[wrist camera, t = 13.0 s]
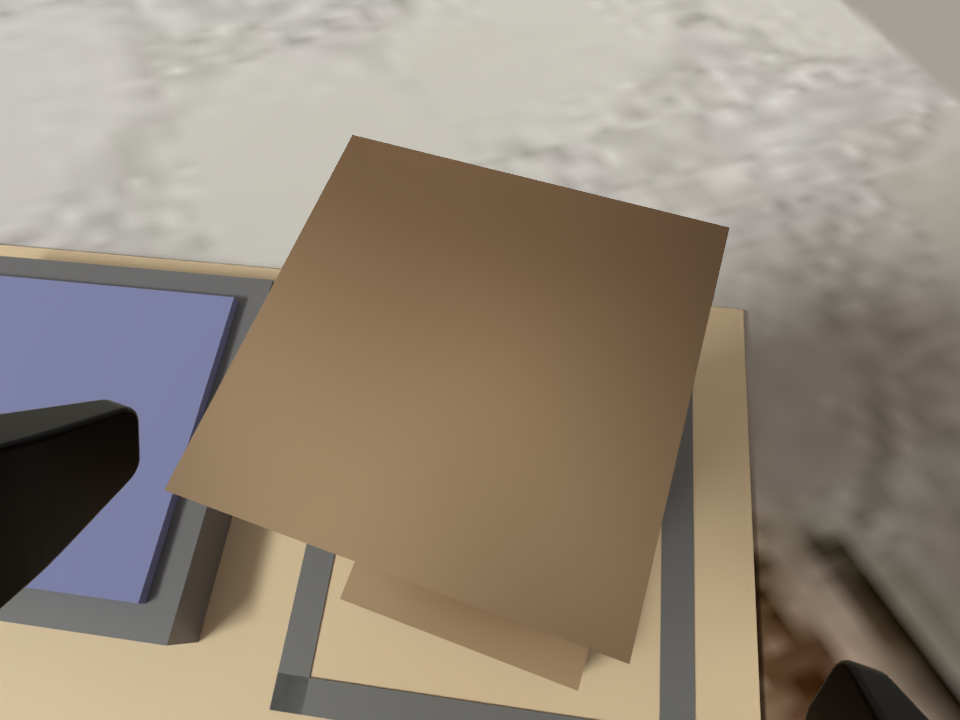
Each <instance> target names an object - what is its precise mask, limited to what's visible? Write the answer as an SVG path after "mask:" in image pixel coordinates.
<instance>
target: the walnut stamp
mask: <svg viewBox="0 0 960 720" xmlns="http://www.w3.org/2000/svg"><path fill="white" fill-rule="evenodd" d="M728 231H729V228H728V227H724V226H720V225H716V224H712V223H708V222H704V221H700V220H696V219H692V218H688V217H684V216H680V215H676V214H671V213H667V212H663V211H659V210H655V209H651V208H647V207H643V206H639V205H635V204H631V203H627V202H623V201H619V200H615V199H610V198H606V197H602V196H598V195H594V194H590V193H586V192H582V191H578V190H574V189H570V188H566V187H562V186H558V185H554V184H550V183H545V182H541V181H537V180H533V179H529V178H525V177H521V176H517V175H513V174H509V173H505V172H501V171H497V170H493V169H489V168H484V167H480V166H476V165H472V164H468V163H464V162H460V161H456V160H452V159H448V158H444V157H440V156H436V155H432V154H428V153H423V152H419V151H415V150H411V149H407V148H403V147H399V146H395V145H391V144H387V143H383V142H379V141H375V140H371V139H367V138H363V137H358V136H354V135H352V137H351V139H350V141H349V143H348V145H347V147H346V149H345V150H344V152H343V154H342V156H341V158H340V160H339V162H338V164H337V165H336V167H335V169H334V171H333V173H332V175H331V177H330V179H329V181H328V182H327V184H326V186H325V188H324V190H323V192H322V194H321V196H320V197H319V199H318V201H317V203H316V205H315V207H314V209H313V211H312V213H311V214H310V216H309V218H308V220H307V222H306V224H305V226H304V228H303V229H302V231H301V233H300V235H299V237H298V239H297V241H296V243H295V245H294V246H293V248H292V250H291V252H290V254H289V256H288V258H287V260H286V261H285V263H284V265H283V267H282V269H281V271H280V273H279V275H278V277H277V278H276V280H275V282H274V284H273V286H272V288H271V290H270V292H269V293H268V295H267V297H266V299H265V301H264V303H263V305H262V307H261V309H260V310H259V312H258V314H257V316H256V318H255V320H254V322H253V324H252V325H251V327H250V329H249V331H248V333H247V335H246V337H245V339H244V341H243V342H242V344H241V346H240V348H239V350H238V352H237V354H236V356H235V357H234V359H233V361H232V363H231V365H230V367H229V369H228V371H227V373H226V374H225V376H224V378H223V380H222V382H221V384H220V386H219V388H218V389H217V391H216V393H215V395H214V397H213V399H212V401H211V403H210V405H209V406H208V408H207V410H206V412H205V414H204V416H203V418H202V420H201V421H200V423H199V425H198V427H197V429H196V431H195V433H194V435H193V437H192V438H191V440H190V442H189V444H188V446H187V448H186V450H185V452H184V453H183V455H182V457H181V459H180V461H179V463H178V465H177V467H176V469H175V470H174V472H173V474H172V476H171V478H170V480H169V482H168V484H167V485H166V487H165V489H164V490H165V491H168V492H170V493H173V494H176V495H178V496H181V497H184V498H186V499H189V500H192V501H194V502H197V503H200V504H202V505H205V506H208V507H210V508H213V509H216V510H218V511H221V512H224V513H226V514H229V515H232V516H234V517H237V518H240V519H243V520H245V521H248V522H251V523H253V524H256V525H259V526H261V527H264V528H267V529H269V530H272V531H275V532H277V533H280V534H283V535H285V536H288V537H291V538H293V539H296V540H299V541H301V542H304V543H307V544H309V545H312V546H315V547H317V548H320V549H323V550H325V551H328V552H331V553H333V554H336V555H339V556H341V557H344V558H347V559H349V560H352V561H355V562H354V565H353V567H352V570H351V572H350V575H349V577H348V580H347V582H346V585H345V587H344V590H343V592H342V595H341V597H340V599H342V600H344V601H347V602H349V603H352V604H355V605H357V606H360V607H362V608H365V609H367V610H370V611H373V612H375V613H378V614H380V615H383V616H386V617H388V618H391V619H393V620H396V621H398V622H401V623H404V624H406V625H409V626H411V627H414V628H417V629H419V630H422V631H424V632H427V633H429V634H432V635H435V636H437V637H440V638H442V639H445V640H448V641H450V642H453V643H455V644H458V645H460V646H463V647H466V648H468V649H471V650H473V651H476V652H479V653H481V654H484V655H486V656H489V657H491V658H494V659H497V660H499V661H502V662H504V663H507V664H509V665H512V666H515V667H517V668H520V669H522V670H525V671H528V672H530V673H533V674H535V675H538V676H540V677H543V678H546V679H548V680H551V681H553V682H556V683H559V684H561V685H564V686H566V687H569V688H571V689H574V690H577V691H578V689H579V685H580V681H581V677H582V673H583V669H584V666H585V662H586V658H587V654H588V650H589V649H590V650H593V651H595V652H598V653H601V654H603V655H606V656H609V657H611V658H614V659H617V660H619V661H622V662H625V663H627V664H630V660H631V656H632V651H633V647H634V643H635V638H636V634H637V629H638V625H639V621H640V616H641V612H642V608H643V603H644V599H645V594H646V590H647V586H648V581H649V577H650V573H651V568H652V564H653V559H654V555H655V551H656V546H657V542H658V537H659V533H660V529H661V524H662V520H663V516H664V511H665V507H666V502H667V498H668V494H669V489H670V485H671V481H672V476H673V472H674V467H675V463H676V459H677V454H678V450H679V446H680V441H681V437H682V432H683V428H684V424H685V419H686V415H687V410H688V406H689V402H690V397H691V393H692V389H693V384H694V380H695V375H696V371H697V367H698V362H699V358H700V354H701V349H702V345H703V340H704V336H705V332H706V327H707V323H708V319H709V314H710V310H711V305H712V301H713V297H714V292H715V288H716V283H717V279H718V275H719V270H720V266H721V262H722V257H723V253H724V248H725V244H726V240H727V235H728Z"/></svg>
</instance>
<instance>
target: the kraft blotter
mask: <svg viewBox="0 0 960 720" xmlns="http://www.w3.org/2000/svg"><path fill="white" fill-rule="evenodd" d="M0 256H8V257H19V258H30V259H42V260H53V261H64V262H75V263H87V264H98V265H109V266H120V267H132V268H143V269H154V270H165V271H177V272H188V273H199V274H210V275H222V276H233V277H244V278H255V279H267V280H273V281H274V282H275V280H276V278H277V277H278V275H279V273H280V271H281V269H272V268H261V267H249V266H238V265H226V264H215V263H203V262H192V261H180V260H169V259H157V258H146V257H134V256H123V255H111V254H100V253H88V252H77V251H66V250H54V249H43V248H31V247H20V246H8V245H0ZM354 562H355V561H352V560H349V559H347V558H344V557H341V556H339V555H336V554H333V553H331V552H328V551H325V550H323V549H320V548H317V547H315V546H312V545H309V544H307V543H304V542H301V541H299V540H296V539H293V538H291V537H288V536H285V535H283V534H280V533H277V532H275V531H272V530H269V529H267V528H264V527H261V526H259V525H256V524H253V523H251V522H248V521H245V520H243V519H240V518H237V517H234V516H232V520H231V524H230V527H229V531H228V535H227V538H226V542H225V546H224V549H223V553H222V557H221V560H220V564H219V568H218V571H217V575H216V579H215V582H214V586H213V590H212V593H211V597H210V601H209V604H208V608H207V612H206V615H205V619H204V623H203V626H202V630H201V634H200V637H199V641H198V642H196V643H187V644H178V645H169V646H165V645H159V644H152V643H145V642H138V641H132V640H125V639H118V638H111V637H105V636H98V635H91V634H85V633H78V632H71V631H64V630H58V629H51V628H44V627H37V626H31V625H24V624H17V623H10V622H4V621H0V720H761V716H760V693H759V669H758V646H757V622H756V599H755V576H754V552H753V529H752V505H751V482H750V458H749V435H748V411H747V388H746V365H745V341H744V318H743V310H742V309H731V308H719V307H711V310H710V314H709V319H708V323H707V327H706V332H705V336H704V340H703V345H702V349H701V354H700V358H699V362H698V367H697V371H696V375H695V380H694V384H693V389H692V393H691V397H690V402H689V406H688V410H687V415H686V419H685V424H684V428H683V432H682V437H681V441H680V446H679V450H678V454H677V459H676V463H675V467H674V472H673V476H672V481H671V485H670V489H669V494H668V498H667V502H666V507H665V511H664V516H663V520H662V524H661V529H660V533H659V537H658V542H657V546H656V551H655V555H654V559H653V564H652V568H651V573H650V577H649V581H648V586H647V590H646V594H645V599H644V603H643V608H642V612H641V616H640V621H639V625H638V629H637V634H636V638H635V643H634V647H633V651H632V656H631V660H630V664H627V663H625V662H622V661H619V660H617V659H614V658H611V657H609V656H606V655H603V654H601V653H598V652H595V651H593V650H590V649H589V650H588V654H587V658H586V662H585V666H584V669H583V673H582V677H581V681H580V685H579V689H578V691H577V690H574V689H571V688H569V687H566V686H564V685H561V684H559V683H556V682H553V681H551V680H548V679H546V678H543V677H540V676H538V675H535V674H533V673H530V672H528V671H525V670H522V669H520V668H517V667H515V666H512V665H509V664H507V663H504V662H502V661H499V660H497V659H494V658H491V657H489V656H486V655H484V654H481V653H479V652H476V651H473V650H471V649H468V648H466V647H463V646H460V645H458V644H455V643H453V642H450V641H448V640H445V639H442V638H440V637H437V636H435V635H432V634H429V633H427V632H424V631H422V630H419V629H417V628H414V627H411V626H409V625H406V624H404V623H401V622H398V621H396V620H393V619H391V618H388V617H386V616H383V615H380V614H378V613H375V612H373V611H370V610H367V609H365V608H362V607H360V606H357V605H355V604H352V603H349V602H347V601H344V600H342V599H340V597H341V595H342V592H343V590H344V587H345V585H346V582H347V580H348V577H349V575H350V572H351V570H352V567H353V565H354Z"/></svg>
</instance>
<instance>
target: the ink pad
mask: <svg viewBox="0 0 960 720" xmlns="http://www.w3.org/2000/svg"><path fill="white" fill-rule="evenodd" d="M273 284H274V281H273V280H267V279H255V278H244V277H233V276H222V275H210V274H199V273H188V272H177V271H165V270H154V269H143V268H132V267H120V266H109V265H98V264H87V263H75V262H64V261H53V260H42V259H30V258H19V257H8V256H0V414H4V413H11V412H18V411H25V410H32V409H39V408H46V407H53V406H60V405H67V404H74V403H81V402H88V401H95V400H103V399H105V400H111V401H114V402H117V403H120V404H123V405H125V406H128V407H131V408H132V409H134V410H135V411H136V413H137V415H138V419H139V446H140V462H139V466H138V468H137V470H136V472H135V474H134V476H133V477H132V478H131V479H130V481H129V482H128V483H127V484H126V485H125V486H124V487H123V488H122V489H121V490H120V491H119V492H118V493H117V494H116V495H115V496H114V497H113V499H112V500H111V501H110V502H109V503H108V504H107V505H106V506H105V507H104V508H103V509H102V510H101V511H100V512H99V513H98V514H97V515H96V517H95V518H94V519H93V520H92V521H91V522H90V523H89V524H88V525H87V526H86V527H85V528H84V529H83V530H82V531H81V532H80V533H79V535H78V536H77V537H76V538H75V539H74V540H73V541H72V542H71V543H70V544H69V545H68V546H67V547H66V548H65V549H64V550H63V551H62V552H61V553H60V555H59V556H58V557H57V558H56V559H55V560H54V561H53V562H52V563H51V564H50V565H49V566H48V567H47V568H46V569H44V570H43V571H42V572H41V573H40V574H39V575H38V576H37V577H36V578H35V579H34V580H33V581H32V582H31V583H29V584H28V585H27V586H26V587H25V588H24V589H23V590H22V591H20V592H19V593H18V594H17V595H16V596H15V597H14V598H13V599H11V600H10V601H9V602H8V603H7V604H6V605H5V606H4V607H2V608H1V609H0V621H4V622H10V623H17V624H24V625H31V626H37V627H44V628H51V629H58V630H64V631H71V632H78V633H85V634H91V635H98V636H105V637H111V638H118V639H125V640H132V641H138V642H145V643H152V644H159V645H165V646H169V645H178V644H187V643H196V642H198V641H199V637H200V634H201V630H202V626H203V623H204V619H205V615H206V612H207V608H208V604H209V601H210V597H211V593H212V590H213V586H214V582H215V579H216V575H217V571H218V568H219V564H220V560H221V557H222V553H223V549H224V546H225V542H226V538H227V535H228V531H229V527H230V524H231V520H232V515H229V514H226V513H224V512H221V511H218V510H216V509H213V508H210V507H208V506H205V505H202V504H200V503H197V502H194V501H192V500H189V499H186V498H184V497H181V496H178V495H176V494H173V493H170V492H168V491H165V490H164V489H165V487H166V485H167V484H168V482H169V480H170V478H171V476H172V474H173V472H174V470H175V469H176V467H177V465H178V463H179V461H180V459H181V457H182V455H183V453H184V452H185V450H186V448H187V446H188V444H189V442H190V440H191V438H192V437H193V435H194V433H195V431H196V429H197V427H198V425H199V423H200V421H201V420H202V418H203V416H204V414H205V412H206V410H207V408H208V406H209V405H210V403H211V401H212V399H213V397H214V395H215V393H216V391H217V389H218V388H219V386H220V384H221V382H222V380H223V378H224V376H225V374H226V373H227V371H228V369H229V367H230V365H231V363H232V361H233V359H234V357H235V356H236V354H237V352H238V350H239V348H240V346H241V344H242V342H243V341H244V339H245V337H246V335H247V333H248V331H249V329H250V327H251V325H252V324H253V322H254V320H255V318H256V316H257V314H258V312H259V310H260V309H261V307H262V305H263V303H264V301H265V299H266V297H267V295H268V293H269V292H270V290H271V288H272V286H273Z"/></svg>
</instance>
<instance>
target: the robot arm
mask: <svg viewBox="0 0 960 720" xmlns="http://www.w3.org/2000/svg"><path fill="white" fill-rule="evenodd" d="M139 462H140V446H139V419H138V415H137V413H136V411H135V410H134V409H132V408H131V407H128V406H125V405H123V404H120V403H117V402H114V401H111V400H105V399H103V400H95V401H88V402H81V403H74V404H67V405H60V406H53V407H46V408H39V409H32V410H25V411H18V412H11V413H4V414H0V609H1V608H2V607H4V606H5V605H6V604H7V603H8V602H9V601H10V600H11V599H13V598H14V597H15V596H16V595H17V594H18V593H19V592H20V591H22V590H23V589H24V588H25V587H26V586H27V585H28V584H29V583H31V582H32V581H33V580H34V579H35V578H36V577H37V576H38V575H39V574H40V573H41V572H42V571H43V570H44V569H46V568H47V567H48V566H49V565H50V564H51V563H52V562H53V561H54V560H55V559H56V558H57V557H58V556H59V555H60V553H61V552H62V551H63V550H64V549H65V548H66V547H67V546H68V545H69V544H70V543H71V542H72V541H73V540H74V539H75V538H76V537H77V536H78V535H79V533H80V532H81V531H82V530H83V529H84V528H85V527H86V526H87V525H88V524H89V523H90V522H91V521H92V520H93V519H94V518H95V517H96V515H97V514H98V513H99V512H100V511H101V510H102V509H103V508H104V507H105V506H106V505H107V504H108V503H109V502H110V501H111V500H112V499H113V497H114V496H115V495H116V494H117V493H118V492H119V491H120V490H121V489H122V488H123V487H124V486H125V485H126V484H127V483H128V482H129V481H130V479H131V478H132V477H133V476H134V474H135V472H136V470H137V468H138V466H139ZM805 720H929V719H928V718H927V717H926V716H925V715H924V714H923V713H922V712H921V711H920V710H919V709H918V708H917V707H916V706H915V704H914V703H913V702H912V701H911V700H910V699H909V698H908V697H907V696H906V695H905V694H904V693H903V692H902V691H901V689H900V688H899V687H898V686H897V685H896V684H895V683H894V682H893V681H892V680H891V679H890V678H889V677H888V676H887V675H886V674H884V673H883V672H881V671H879V670H876V669H873V668H870V667H867V666H865V665H862V664H859V663H856V662H853V661H850V660H843V661H840V662H839V663H837V664H836V665H835V666H834V668H833V669H832V671H831V672H830V674H829V675H828V677H827V679H826V680H825V682H824V683H823V685H822V686H821V688H820V690H819V691H818V693H817V694H816V696H815V698H814V699H813V701H812V702H811V704H810V706H809V708H808V710H807V713H806V718H805Z"/></svg>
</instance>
